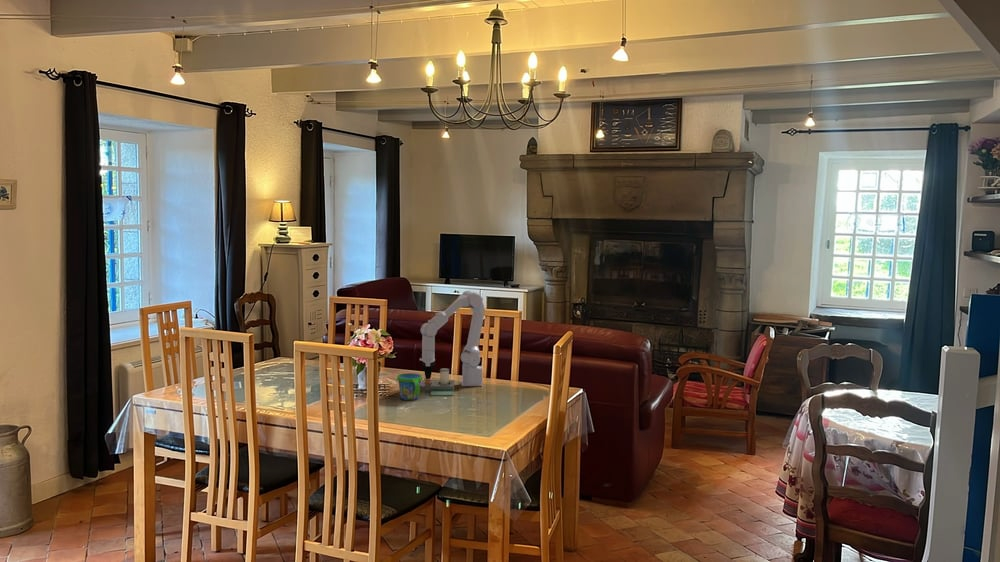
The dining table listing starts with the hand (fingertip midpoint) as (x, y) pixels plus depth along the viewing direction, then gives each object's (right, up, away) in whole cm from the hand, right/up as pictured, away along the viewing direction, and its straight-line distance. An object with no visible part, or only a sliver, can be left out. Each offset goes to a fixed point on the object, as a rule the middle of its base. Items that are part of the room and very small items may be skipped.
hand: (428, 378), depth 338 cm
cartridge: (+7, -5, +1) cm, 9 cm away
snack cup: (-6, -7, -19) cm, 21 cm away
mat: (+7, -6, -10) cm, 14 cm away
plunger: (0, -3, 0) cm, 3 cm away
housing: (+4, -5, +1) cm, 6 cm away
